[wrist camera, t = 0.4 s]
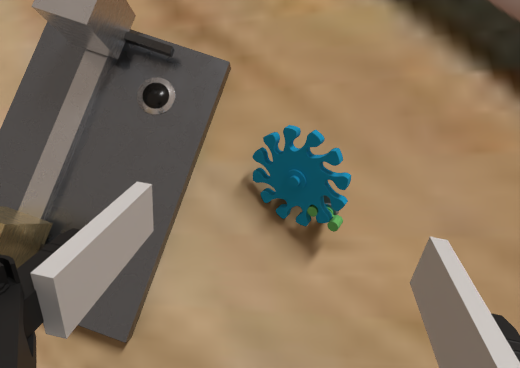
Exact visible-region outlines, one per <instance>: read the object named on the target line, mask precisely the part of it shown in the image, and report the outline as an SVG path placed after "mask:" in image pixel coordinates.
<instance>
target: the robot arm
mask: <svg viewBox="0 0 520 368" xmlns="http://www.w3.org/2000/svg"><path fill="white" fill-rule="evenodd" d="M153 231H154V230H153V201H152V184H148V183H143V182H136V183H135V184H133V185H132V186H131V187H130V188H129V189H128V190H126V191H125V192H124V193H123V194H122V195H121V196H119V197H118V198H117V199H116V200H115V201H114V202H112V203H111V204H110V205H109V206H108V207H107V208H106V209H104V210H103V211H102V212H101V213H100V214H99V215H97V216H96V217H95V218H94V219H93V220H92V221H90V222H89V223H88V224H87V225H86V226H85V227H83V228H82V229H81V230H80V229H75V228H72V229H70V230H68V231H66V232H64V233H61V234H59V235H58V236H57V237H56V238H55V239H53V240H52V241H51V242H50V243H49V244H47V245H46V246H45V247H43V248H42V249H41V251H38V252H37V253H36V254H35V255H33V256H32V257H31V258H30V259H28V260H27V261H26V262H25V263H24V264H22V265H21V266H20V267H19V268H16V265H15V261H14V259H13V258H11V257H10V256H6V255H0V368H36V335H35V332H34V331H35V330H36V329H37V328H38V327H39V326H40V325H41V324H42V323H43V324H44V328H45V332H46V334H49V335H53V336H57V337H62V338H66V339H67V338H68V336H69V335H70V334H71V333H72V331H73V330H74V329H75V328H76V326H77V325H78V324H79V323H80V321H81V320H82V319H83V318H84V316H85V315H86V314H87V313H88V311H89V310H90V309H91V308H92V307H93V305H94V304H95V303H96V302H97V300H98V299H99V298H100V297H101V295H102V294H103V293H104V292H105V290H106V289H107V288H108V287H109V285H110V284H111V283H112V282H113V280H114V279H115V278H116V277H117V275H118V274H119V273H120V272H121V271H122V269H123V268H124V267H125V266H126V264H127V263H128V262H129V261H130V259H131V258H132V257H133V256H134V254H135V253H136V252H137V251H138V249H139V248H140V247H141V246H142V244H143V243H144V242H145V241H146V240H147V238H148V237H149V236H150V235H151V233H152V232H153ZM410 285H411V288H412V290H413V293H414V296H415V299H416V302H417V305H418V308H419V311H420V313H421V316H422V319H423V322H424V325H425V328H426V331H427V334H428V336H429V339H430V342H431V345H432V348H433V351H434V354H435V357H436V360H437V362H438V365H439V368H520V335H519V334H518V332H517V330H516V329H515V328H514V327H513V326H512V325H511V324H510V323H509V322H508V321H507V320H506V319H505V318H504V317H503V316H501V315H496V314H491V313H490V311H489V309H488V308H487V306H486V304H485V303H484V301H483V299H482V298H481V296H480V294H479V293H478V291H477V289H476V287H475V286H474V284H473V282H472V281H471V279H470V277H469V276H468V274H467V272H466V271H465V269H464V267H463V265H462V264H461V262H460V260H459V259H458V257H457V255H456V254H455V252H454V250H453V249H452V247H451V245H450V243H449V242H448V240H445V239H440V238H434V237H429V240H428V242H427V244H426V246H425V249H424V251H423V253H422V256H421V258H420V260H419V263H418V265H417V267H416V269H415V272H414V274H413V276H412V279H411V281H410Z"/></svg>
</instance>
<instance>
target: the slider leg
mask: <svg viewBox="0 0 520 368" xmlns="http://www.w3.org/2000/svg"><path fill="white" fill-rule="evenodd" d="M32 7H33V8H34V9H35V10H36V11H37V12H38V13H39V14H40V15H41V16H42V17H43V18H45V19H46V20H47V21H48V22H49V23H50V24H51V25H52V26H53V27H54V28H55V29H56V30H58V31H59V32H60V33H61V34H62V35H63V36H64V37H65V38H66V39H67V40H68V41H69V42H70V43H72V44H73V45H76V46H79V47H82V48H85V49H88V50H91V51H94V52H97V53H100V54H103V55H106V56H109V57H112V58H115V59H118V58H119V56H120V53H121V51H122V48H123V46H124V43H125V41H126V42H127V43H130V44H133V45H136V46H139V47H142V48H145V49H148V50H151V51H154V52H157V53H160V54H163V55H166V56H169V57H172V56H173V54H174V51H175V50H174V48H173V46H170V45H167V44H164V43H161V42H158V41H155V40H152V39H149V38H146V37H143V36H140V35H136V34H133V33H130V32H129V31H130V29H131V26H132V24H133V21H134V19H135V16H136V15H135V14H134V12H133V10H132V9H131V7H130V6H129V4H128V2H127V1H126V0H34V2H33V5H32Z"/></svg>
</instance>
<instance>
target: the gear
mask: <svg viewBox="0 0 520 368" xmlns="http://www.w3.org/2000/svg"><path fill="white" fill-rule="evenodd" d="M300 132H301V131H300V128H298V127H296V126H291V125H289V126H287V127H285V128H284V131H283V134H284V137H285V148H284V151H281V150H279V148H278V143H279V140H280V136H279V134H278V133H277V132H274V133H271V134H269V135H267V136H265V137H264V138H263V139H264V142H265V144H266V145H267V146H268V147H269V149H270V151H271V153H272V157H273V162H272V161H270V160H269V158H268V153H267V150H266V149H265V148H263V147H262V148H260V149H259V150H257V151H256V152H255V153H254V155H253V159H254V160H255V161H256V162H259V163H261V164H262V165H264V166H265V167H266V169H267V170H268V172H269V173H270V176H268V175H267V174H266V172H265V171H264V170H263V169H262V168H258V169H256V170H255V171H254V172H253V181H255V182H257V183H259V182H264V183H267V184H269V185H271V186H272V187H274V189H275V191H276V192H275V191H273V190H271V189H269V188H266V189H265V190H263V191H262V192H261V197H262V199H263V201H264V202H265V203H268V202H270V201H271V200H272V199H276V198H279V199H284V200H285V201H286V202H287V204H281V205H280V206H279V207H278V208H277V209H276V213H277V214H278V215H279V216H280V217H281V218H282V219H285V218H286V217H287V216H288V215H289V214H290V211H291V208H292V207H294V206H299V207H301V208H302V211H303V212H301V213H300V214H299V215H298V216H297V217H296V222H297V223H298V224H300V225H303V226H307V225H308V224H309V223H310V221H311V216H313V217H314V216H316V220H317V222H318V223H327V222H329V223H328V228H329V229H330V230H331V231H337V230H338V228H339V227H340V225H341V224H342V222H343V219H342V217H340V216H339V215H337V214H338V212H339V210H341V209H342V208H343V207H344V206H345V204H346V203H347V202H348V201H347V199H346V197H344V196H342V195H340V194H338V193H336V192H335V191H334V190H333V189H332V188H331V186H330V185H329V183H328V180H332V181H333V182H334V183H335V184H336V186H337V187H338V188H339V189H341V190H345V189H346V188H347V187H348V185H349V184H350V181H351V175H350V174H349V173H335V172H332V171H330V170H328V169H326V168H325V167H324V166H323V161H325V162H327V163H329V164H331V165H334V166H336V165H338V164H340V163H341V162H342V161H343V157H342V153H341V151H340V149H339V148H334V149H332V150H331V151H330V152H329V153H327V154H324V155H314V154H312V153H311V151H310V147H317V146H319V145H320V144H321V143H323V141H324V139H325V138H324V137H323V135H322V134H321V133H319V132H318V131H317V130H314V131H312V132H311V133H310V134H308V136H307V140H306V143H305V145H304V146H303V147H302V148H300V149H298V148H296V147H295V146H294V144H293V141H294V139H295V138H297V137H298V136H299V135H300Z"/></svg>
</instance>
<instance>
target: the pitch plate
mask: <svg viewBox="0 0 520 368" xmlns="http://www.w3.org/2000/svg"><path fill="white" fill-rule="evenodd" d="M129 32H130V33H133V34H136V35H140V36H143V37H146V38H149V39H152V40H155V41H158V42H161V43H164V44H167V45H170V46H173V48H174V50H175V51H174V54H173V56H172V57H169V56H166V55H163V54H160V53H157V52H154V51H151V50H148V49H145V48H142V47H139V46H136V45H133V44H130V43H127V42H126V41H125V43H124V46H123V48H122V51H121V53H120V56H119V58H118V59H115V58H112V57H109V56H106V55H103V54H100V53H97V52H94V51H91V50H88V49H85V48H82V47H79V46H76V45H73V44H72V43H70V42H69V41H68V40H67V39H66V38H65V37H64V36H63V35H62V34H61V33H60V32H59V31H58V30H56V29H55V28H54V27H53V26H52V25H51V24H50V23H49V22H47V24H46V26H45V28H44V31H43V33H42V35H41V38H40V40H39V42H38V44H37V47H36V49H35V51H34V54H33V56H32V58H31V60H30V63H29V65H28V67H27V70H26V72H25V74H24V76H23V79H22V81H21V83H20V86H19V88H18V90H17V92H16V95H15V97H14V99H13V102H12V104H11V106H10V108H9V111H8V113H7V115H6V118H5V120H4V122H3V124H2V127H1V129H0V255H6V256H10V257H11V258H13V259H14V261H15V265H16V268H19V267H20V266H21V265H22V264H24V263H25V262H26V261H27V260H28V259H30V258H31V257H32V256H33V255H35V254H36V253H37V252H38V251H41V249H42V248H43V247H45V246H46V245H47V244H49V243H50V242H51V241H52V240H53V239H55V238H56V237H57V236H58V235H59V234H61V233H64V232H66V231H68V230H70V229H72V228H75V229H80V230H81V229H82V228H83V227H85V226H86V225H87V224H88V223H89V222H90V221H92V220H93V219H94V218H95V217H96V216H97V215H99V214H100V213H101V212H102V211H103V210H104V209H106V208H107V207H108V206H109V205H110V204H111V203H112V202H114V201H115V200H116V199H117V198H118V197H119V196H121V195H122V194H123V193H124V192H125V191H126V190H128V189H129V188H130V187H131V186H132V185H133V184H135V183H136V182H143V183H148V184H152V201H153V230H154V231H153V232H152V233H151V235H150V236H149V237H148V238H147V240H146V241H145V242H144V243H143V244H142V246H141V247H140V248H139V249H138V251H137V252H136V253H135V254H134V256H133V257H132V258H131V259H130V261H129V262H128V263H127V264H126V266H125V267H124V268H123V269H122V271H121V272H120V273H119V274H118V275H117V277H116V278H115V279H114V280H113V282H112V283H111V284H110V285H109V287H108V288H107V289H106V290H105V292H104V293H103V294H102V295H101V297H100V298H99V299H98V300H97V302H96V303H95V304H94V305H93V307H92V308H91V309H90V310H89V311H88V313H87V314H86V315H85V316H84V318H83V319H82V320H81V321H80V323H79V324H78V325H79V326H81V327H84V328H87V329H90V330H92V331H95V332H98V333H100V334H103V335H106V336H109V337H111V338H114V339H117V340H120V341H122V342H125V343H126V342H127V341H128V340H129V339H130V338H131V337H132V335H133V332H134V329H135V327H136V324H137V321H138V318H139V316H140V313H141V310H142V308H143V305H144V302H145V300H146V297H147V294H148V291H149V289H150V286H151V283H152V281H153V278H154V275H155V272H156V270H157V267H158V264H159V262H160V259H161V256H162V254H163V251H164V248H165V245H166V243H167V240H168V237H169V235H170V232H171V229H172V226H173V224H174V221H175V218H176V216H177V213H178V210H179V208H180V205H181V202H182V199H183V197H184V194H185V191H186V189H187V186H188V183H189V180H190V178H191V175H192V172H193V170H194V167H195V164H196V162H197V159H198V156H199V153H200V151H201V148H202V145H203V143H204V140H205V137H206V134H207V132H208V129H209V126H210V124H211V121H212V118H213V115H214V113H215V110H216V107H217V105H218V102H219V99H220V97H221V94H222V91H223V88H224V86H225V83H226V80H227V78H228V75H229V72H230V69H231V67H230V62H228V61H225V60H222V59H219V58H216V57H213V56H210V55H207V54H204V53H201V52H198V51H195V50H192V49H189V48H185V47H182V46H179V45H176V44H173V43H170V42H167V41H164V40H161V39H158V38H155V37H152V36H149V35H146V34H143V33H140V32H137V31H134V30H131V29H130V31H129Z"/></svg>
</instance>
